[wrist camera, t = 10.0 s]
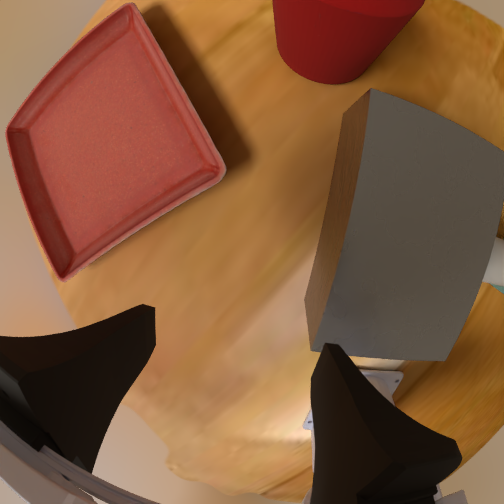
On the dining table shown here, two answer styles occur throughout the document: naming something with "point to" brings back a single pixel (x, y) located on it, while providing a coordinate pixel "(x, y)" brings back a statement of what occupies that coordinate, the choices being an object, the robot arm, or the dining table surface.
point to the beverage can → (337, 34)
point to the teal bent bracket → (496, 266)
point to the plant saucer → (107, 144)
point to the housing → (403, 232)
